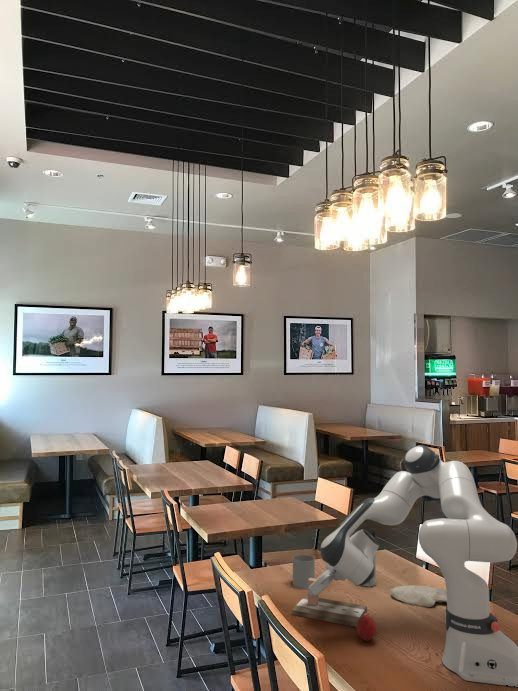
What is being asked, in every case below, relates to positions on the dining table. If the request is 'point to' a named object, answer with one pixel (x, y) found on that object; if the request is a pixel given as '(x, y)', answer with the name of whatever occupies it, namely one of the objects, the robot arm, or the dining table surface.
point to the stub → (312, 599)
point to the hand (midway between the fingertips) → (311, 591)
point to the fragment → (419, 595)
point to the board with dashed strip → (330, 611)
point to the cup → (303, 570)
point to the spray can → (373, 580)
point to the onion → (366, 627)
